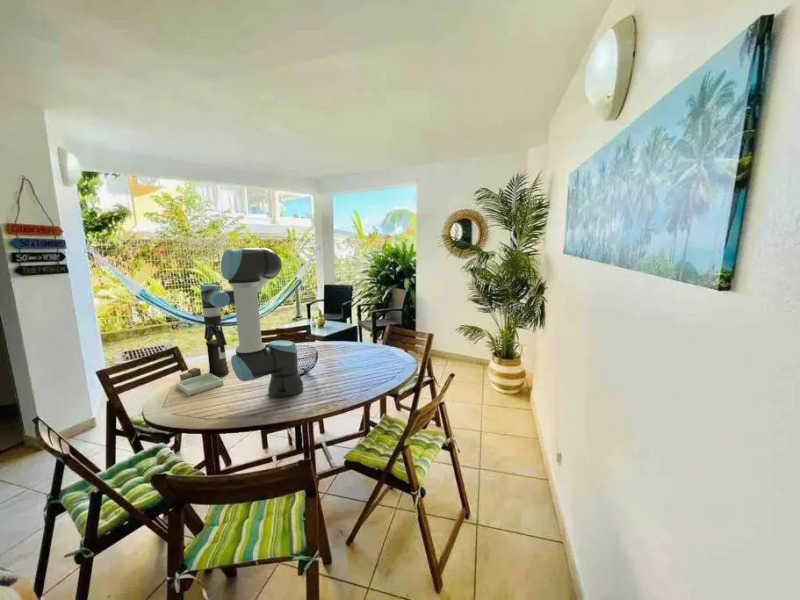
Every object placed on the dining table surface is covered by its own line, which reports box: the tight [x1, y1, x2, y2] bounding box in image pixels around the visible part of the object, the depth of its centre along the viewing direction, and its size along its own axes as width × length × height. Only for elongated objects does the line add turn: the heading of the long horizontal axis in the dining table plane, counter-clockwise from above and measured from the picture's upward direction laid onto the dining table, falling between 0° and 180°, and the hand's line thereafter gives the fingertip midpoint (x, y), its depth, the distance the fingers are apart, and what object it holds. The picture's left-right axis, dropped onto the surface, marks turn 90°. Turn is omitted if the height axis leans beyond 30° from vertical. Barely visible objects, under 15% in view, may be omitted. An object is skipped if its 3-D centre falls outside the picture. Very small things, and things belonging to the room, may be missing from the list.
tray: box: [175, 372, 224, 397], centre depth 159 cm, size 15×15×2 cm
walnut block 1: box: [179, 371, 192, 381], centre depth 165 cm, size 4×4×4 cm
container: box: [205, 338, 230, 378], centre depth 172 cm, size 9×9×18 cm
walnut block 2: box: [187, 367, 202, 378], centre depth 171 cm, size 4×4×4 cm
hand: (216, 355), depth 172 cm, fingers open, 13 cm apart
